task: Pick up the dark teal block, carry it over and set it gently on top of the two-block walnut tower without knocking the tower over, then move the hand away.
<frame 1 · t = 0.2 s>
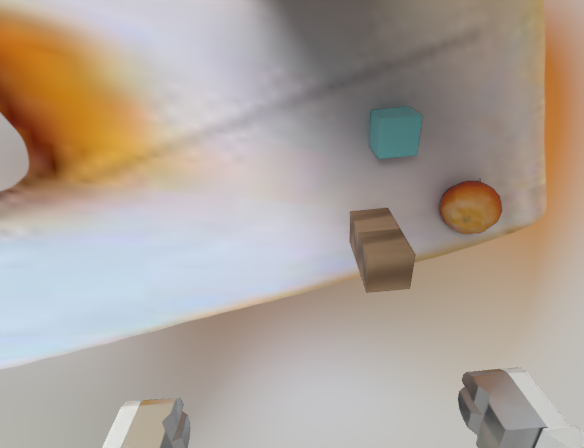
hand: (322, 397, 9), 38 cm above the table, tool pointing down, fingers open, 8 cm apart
teal block: (387, 126, 44), on the table
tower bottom: (368, 225, 52), on the table, touching tower top
fruit: (457, 195, 50), on the table
tower top: (377, 247, 47), point 6 cm above the table, touching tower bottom
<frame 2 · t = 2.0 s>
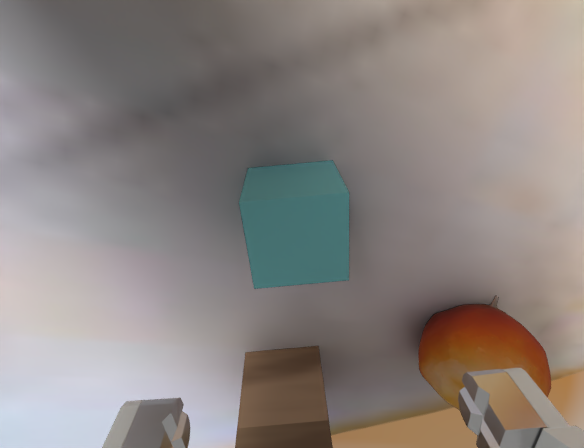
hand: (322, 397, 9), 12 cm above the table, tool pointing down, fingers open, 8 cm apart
teal block: (293, 202, 20), on the table
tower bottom: (285, 373, 27), on the table, touching tower top
fruit: (452, 322, 26), on the table
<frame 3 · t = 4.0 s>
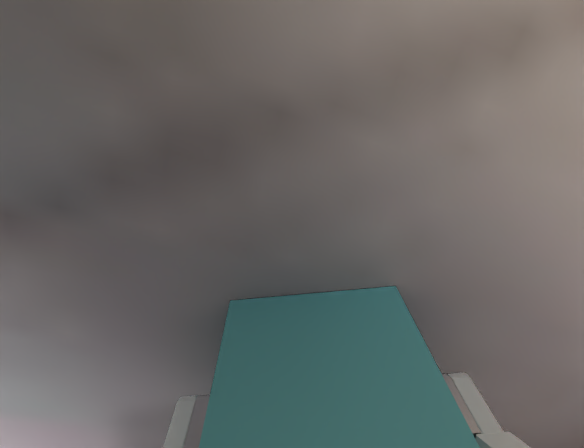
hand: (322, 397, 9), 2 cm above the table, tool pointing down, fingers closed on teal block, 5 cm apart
teal block: (316, 352, 11), on the table, touching gripper
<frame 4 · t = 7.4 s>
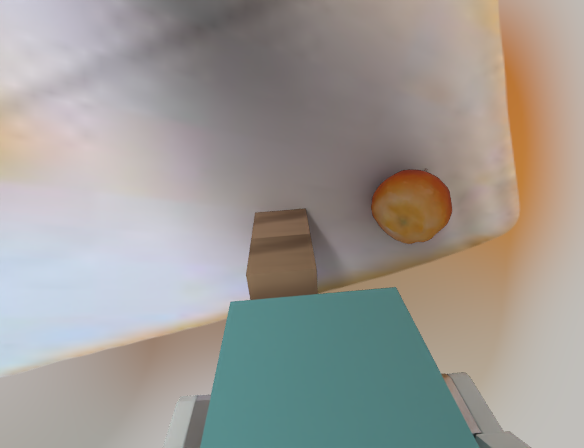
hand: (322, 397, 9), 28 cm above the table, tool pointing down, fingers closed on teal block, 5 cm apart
teal block: (317, 353, 11), point 27 cm above the table, touching gripper
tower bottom: (282, 232, 39), on the table, touching tower top
fruit: (398, 192, 37), on the table
tower top: (283, 260, 34), point 6 cm above the table, touching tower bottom
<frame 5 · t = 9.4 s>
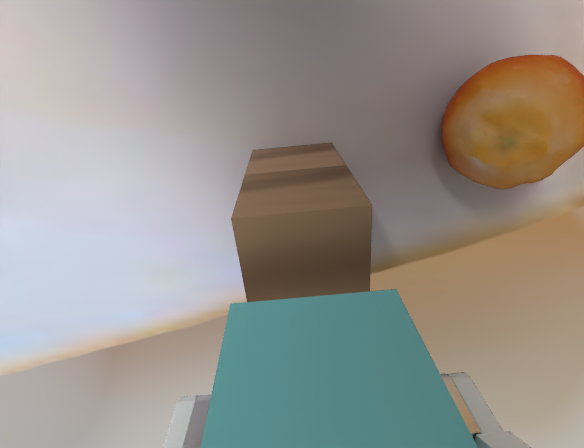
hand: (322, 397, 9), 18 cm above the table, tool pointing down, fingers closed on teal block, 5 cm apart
teal block: (317, 355, 11), point 17 cm above the table, touching gripper
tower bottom: (295, 183, 26), on the table, touching tower top
fruit: (477, 114, 24), on the table
tower top: (299, 215, 20), point 6 cm above the table, touching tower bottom
when the fingers open (15 cm above the table, at t = 10.9 s): teal block drops 1 cm, resting on tower top.
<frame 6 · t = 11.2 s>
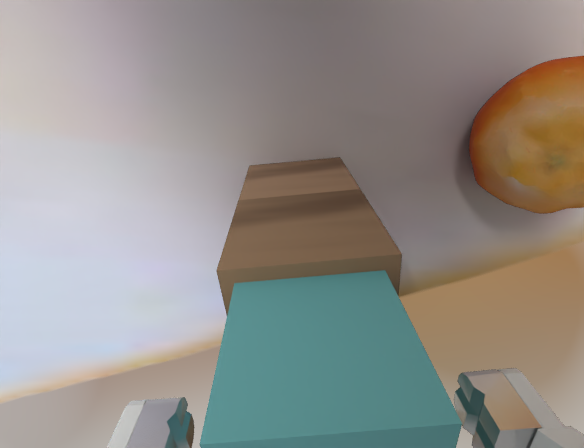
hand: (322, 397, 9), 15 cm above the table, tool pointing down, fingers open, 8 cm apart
teal block: (313, 332, 12), point 12 cm above the table, touching tower top
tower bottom: (298, 203, 22), on the table, touching tower top
fruit: (508, 125, 21), on the table
tower top: (303, 246, 17), point 6 cm above the table, touching teal block, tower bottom
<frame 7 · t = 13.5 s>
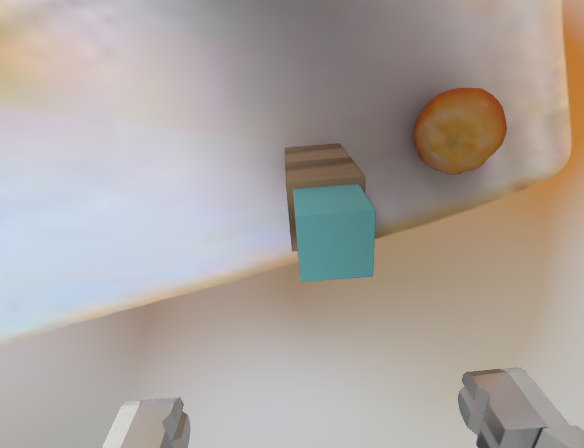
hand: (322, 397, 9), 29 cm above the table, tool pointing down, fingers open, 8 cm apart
teal block: (326, 216, 25), point 12 cm above the table, touching tower top
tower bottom: (313, 172, 36), on the table, touching tower top
fruit: (440, 124, 34), on the table
tower top: (318, 190, 31), point 6 cm above the table, touching teal block, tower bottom
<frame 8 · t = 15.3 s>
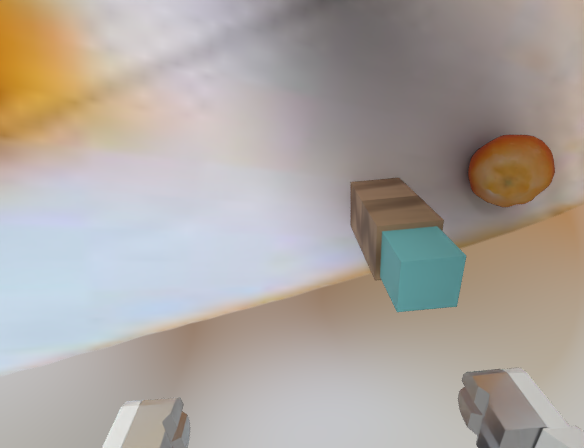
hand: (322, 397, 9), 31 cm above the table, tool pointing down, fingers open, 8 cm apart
teal block: (407, 252, 30), point 12 cm above the table, touching tower top
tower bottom: (374, 202, 41), on the table, touching tower top
fruit: (488, 160, 39), on the table
tower top: (388, 223, 35), point 6 cm above the table, touching teal block, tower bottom
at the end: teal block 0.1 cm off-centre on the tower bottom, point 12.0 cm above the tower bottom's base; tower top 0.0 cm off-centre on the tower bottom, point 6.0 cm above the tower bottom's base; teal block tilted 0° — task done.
